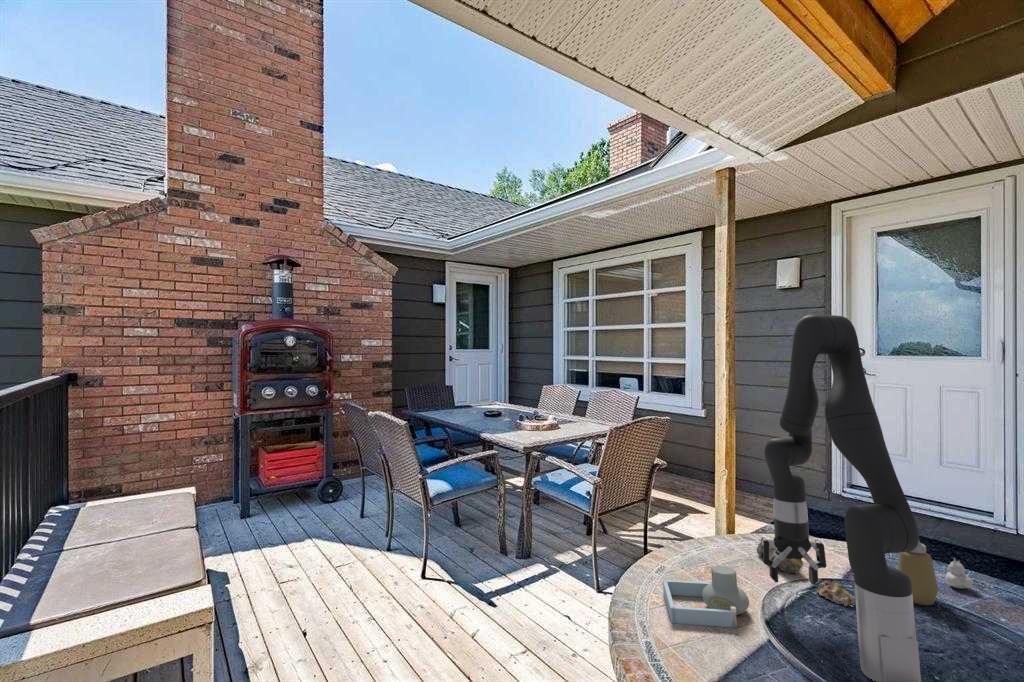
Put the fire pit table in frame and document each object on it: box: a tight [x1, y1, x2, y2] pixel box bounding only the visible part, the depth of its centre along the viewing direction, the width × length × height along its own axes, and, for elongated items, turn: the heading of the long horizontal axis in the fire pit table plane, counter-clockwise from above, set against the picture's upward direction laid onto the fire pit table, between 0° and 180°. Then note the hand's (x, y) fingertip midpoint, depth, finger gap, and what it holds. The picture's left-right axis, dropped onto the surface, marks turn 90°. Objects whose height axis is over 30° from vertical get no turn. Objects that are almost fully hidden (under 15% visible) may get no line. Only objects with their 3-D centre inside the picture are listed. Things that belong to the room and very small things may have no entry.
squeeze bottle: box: [897, 540, 939, 606], centre depth 123 cm, size 8×8×18 cm
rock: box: [756, 541, 804, 575], centre depth 147 cm, size 17×7×10 cm
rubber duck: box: [945, 557, 974, 590], centre depth 129 cm, size 5×7×8 cm
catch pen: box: [662, 579, 738, 629], centre depth 122 cm, size 16×15×4 cm
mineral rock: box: [816, 580, 856, 606], centre depth 126 cm, size 11×4×8 cm
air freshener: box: [701, 565, 750, 616], centre depth 121 cm, size 11×8×10 cm
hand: (793, 582), depth 118 cm, fingers open, 8 cm apart
